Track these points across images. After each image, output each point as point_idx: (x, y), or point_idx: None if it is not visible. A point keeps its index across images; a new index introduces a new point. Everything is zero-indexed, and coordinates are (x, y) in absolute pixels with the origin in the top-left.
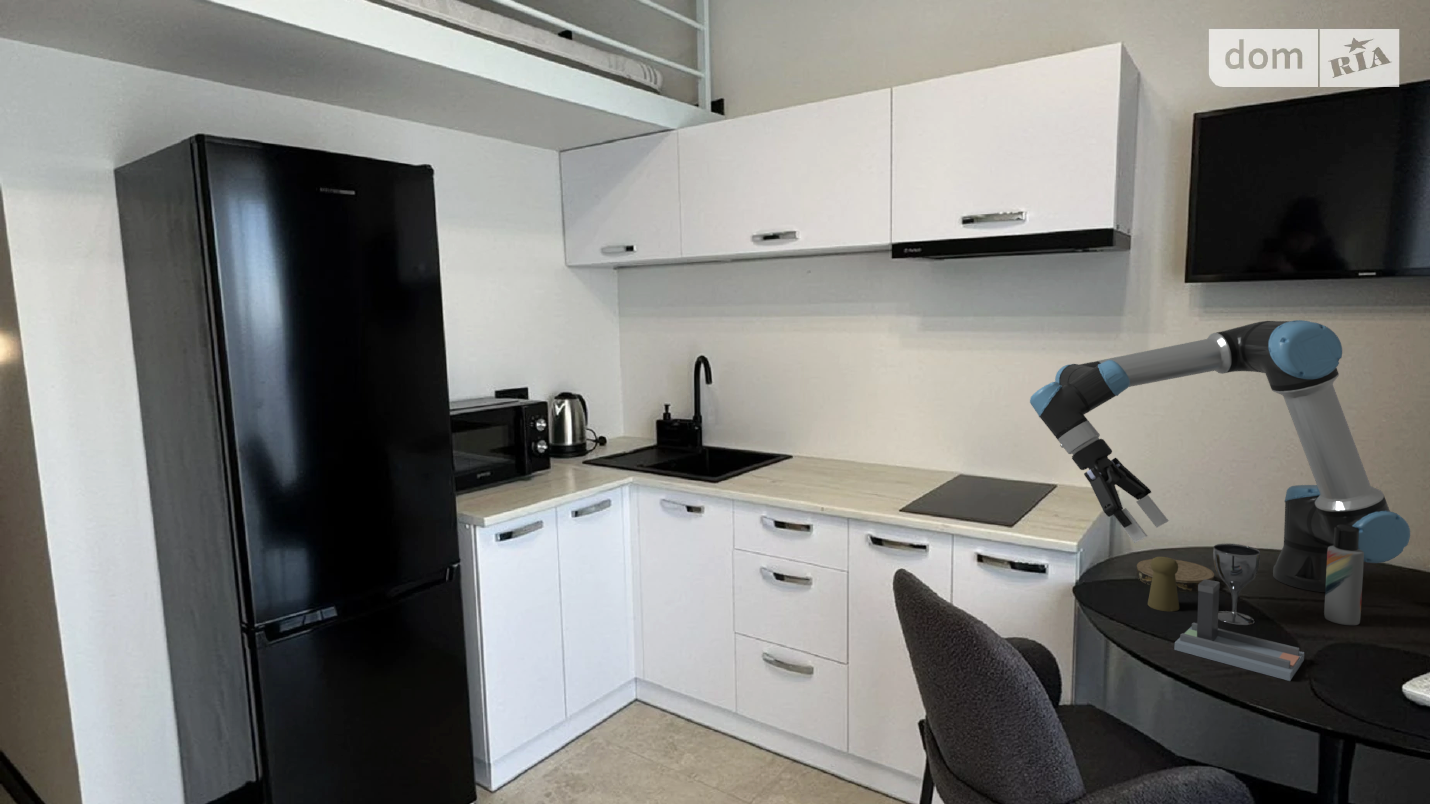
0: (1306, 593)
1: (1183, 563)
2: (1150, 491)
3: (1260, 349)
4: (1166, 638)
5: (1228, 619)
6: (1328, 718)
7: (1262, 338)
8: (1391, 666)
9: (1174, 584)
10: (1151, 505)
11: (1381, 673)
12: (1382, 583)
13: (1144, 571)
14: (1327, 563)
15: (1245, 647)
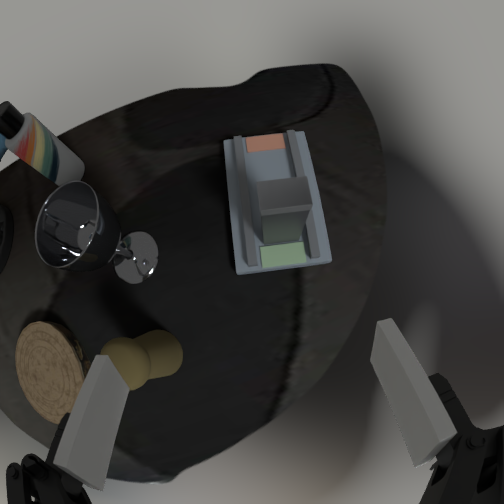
0: (19, 233)
1: (22, 369)
2: (29, 458)
3: None
4: (295, 291)
5: (150, 257)
6: (355, 101)
7: None
8: (176, 101)
9: (142, 338)
10: (86, 432)
11: (203, 99)
12: None
13: None
14: (30, 152)
15: None
